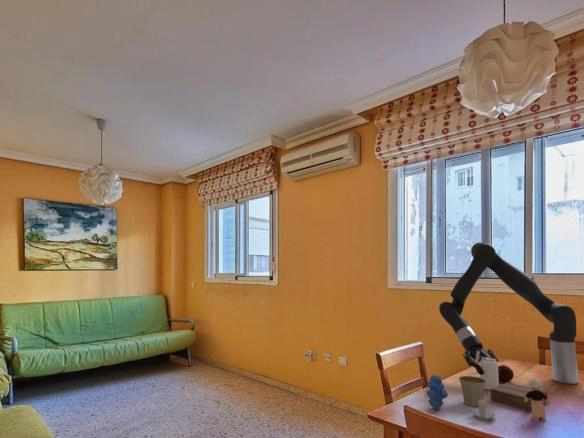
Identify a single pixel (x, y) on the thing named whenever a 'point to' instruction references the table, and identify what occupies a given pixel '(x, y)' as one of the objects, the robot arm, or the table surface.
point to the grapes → (436, 392)
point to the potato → (505, 373)
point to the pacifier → (482, 411)
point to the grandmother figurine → (536, 400)
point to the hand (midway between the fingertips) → (490, 373)
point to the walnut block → (513, 395)
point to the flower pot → (472, 389)
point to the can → (489, 372)
